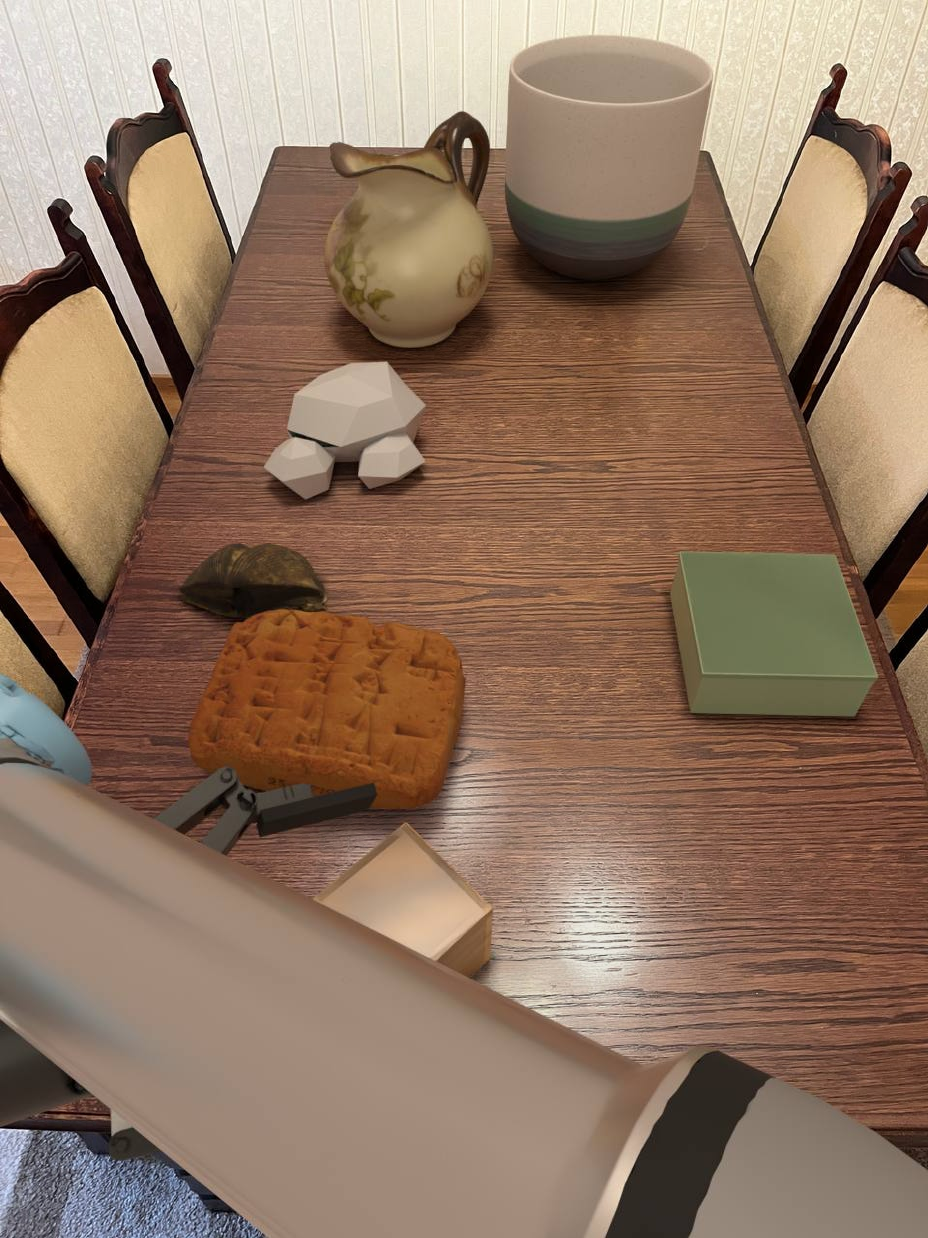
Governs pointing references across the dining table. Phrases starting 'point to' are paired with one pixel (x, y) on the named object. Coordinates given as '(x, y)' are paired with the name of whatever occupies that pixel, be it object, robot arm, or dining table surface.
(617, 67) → the planter
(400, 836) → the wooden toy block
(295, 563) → the seashell
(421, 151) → the pitcher
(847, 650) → the green box
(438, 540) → the dining table surface
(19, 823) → the robot arm
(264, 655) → the cuneiform tablet
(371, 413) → the rock
